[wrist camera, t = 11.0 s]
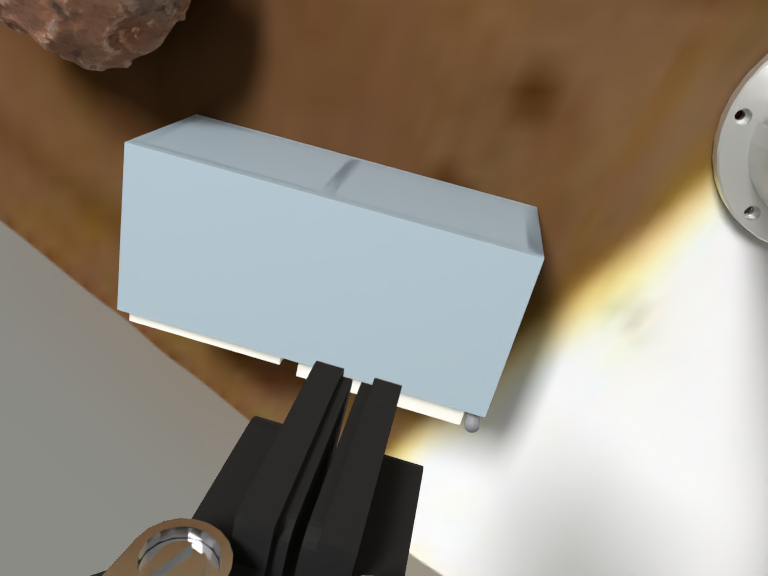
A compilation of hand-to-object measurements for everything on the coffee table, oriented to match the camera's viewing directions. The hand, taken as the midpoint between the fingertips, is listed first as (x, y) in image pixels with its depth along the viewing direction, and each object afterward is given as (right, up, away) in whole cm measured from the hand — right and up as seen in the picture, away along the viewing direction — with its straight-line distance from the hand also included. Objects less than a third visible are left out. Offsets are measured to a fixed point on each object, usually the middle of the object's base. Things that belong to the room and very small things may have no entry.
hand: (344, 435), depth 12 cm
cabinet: (-2, +6, +30) cm, 31 cm away
